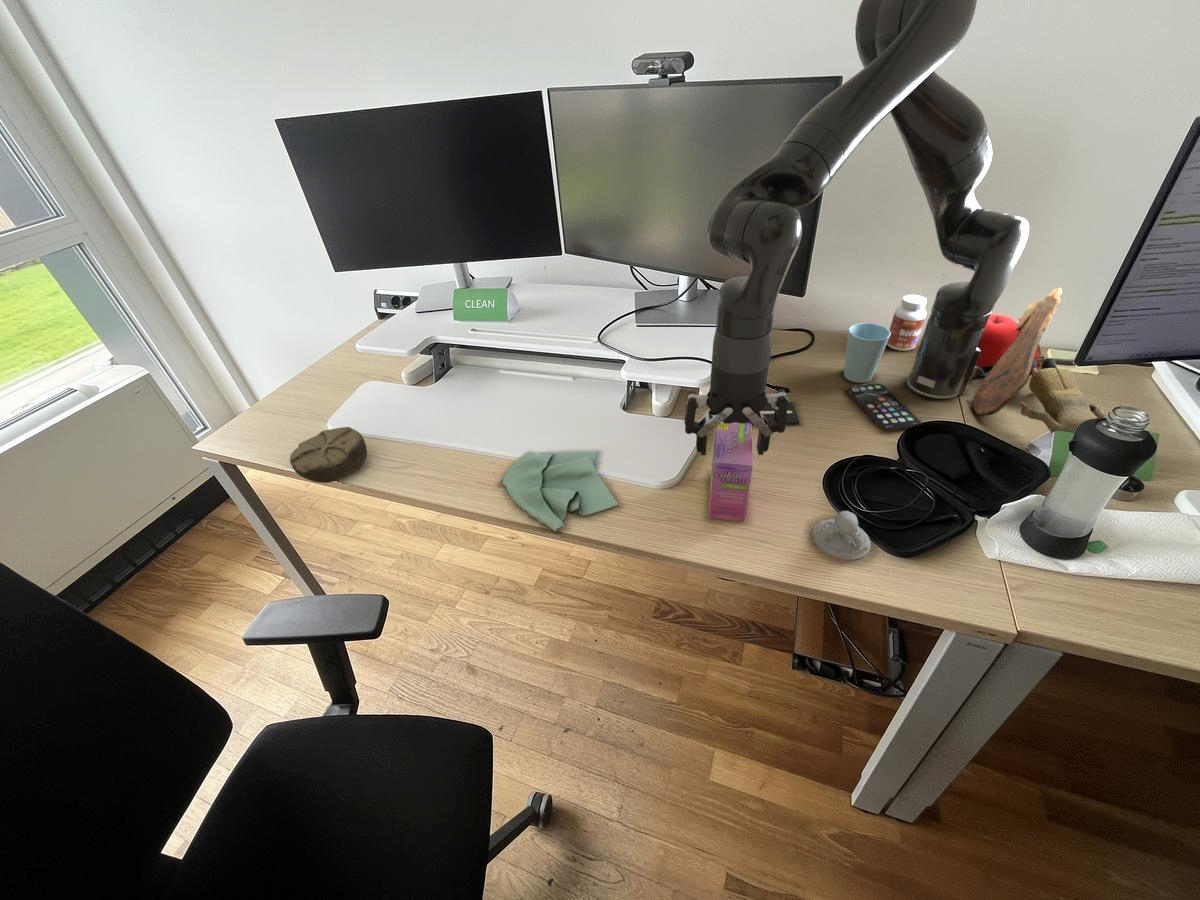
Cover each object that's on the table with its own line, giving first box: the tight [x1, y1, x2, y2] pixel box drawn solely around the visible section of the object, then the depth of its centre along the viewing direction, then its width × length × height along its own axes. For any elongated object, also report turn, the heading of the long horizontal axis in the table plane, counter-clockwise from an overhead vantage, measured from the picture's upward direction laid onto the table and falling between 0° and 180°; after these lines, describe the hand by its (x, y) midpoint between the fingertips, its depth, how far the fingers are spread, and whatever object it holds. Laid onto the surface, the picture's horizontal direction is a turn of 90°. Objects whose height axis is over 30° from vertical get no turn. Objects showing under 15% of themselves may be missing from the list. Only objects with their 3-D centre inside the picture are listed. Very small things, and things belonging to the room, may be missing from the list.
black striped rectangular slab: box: [746, 401, 800, 426], centre depth 103 cm, size 11×7×1 cm, turn 85°
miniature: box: [811, 510, 872, 561], centre depth 76 cm, size 8×8×5 cm
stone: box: [289, 426, 368, 484], centre depth 100 cm, size 13×13×5 cm
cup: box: [843, 322, 891, 384], centre depth 108 cm, size 8×8×10 cm
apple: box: [975, 313, 1020, 368], centre depth 108 cm, size 10×10×11 cm
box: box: [708, 422, 754, 522], centre depth 83 cm, size 10×6×12 cm, turn 168°
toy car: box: [1018, 317, 1045, 366], centre depth 107 cm, size 12×5×3 cm
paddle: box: [972, 287, 1063, 417], centre depth 99 cm, size 8×3×30 cm
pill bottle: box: [886, 294, 928, 352], centre depth 117 cm, size 6×6×11 cm
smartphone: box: [847, 382, 922, 432], centre depth 102 cm, size 7×1×15 cm
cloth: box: [501, 451, 619, 532], centre depth 91 cm, size 20×22×2 cm
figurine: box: [1019, 357, 1130, 490], centre depth 89 cm, size 11×9×30 cm
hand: (731, 452), depth 81 cm, fingers open, 8 cm apart
